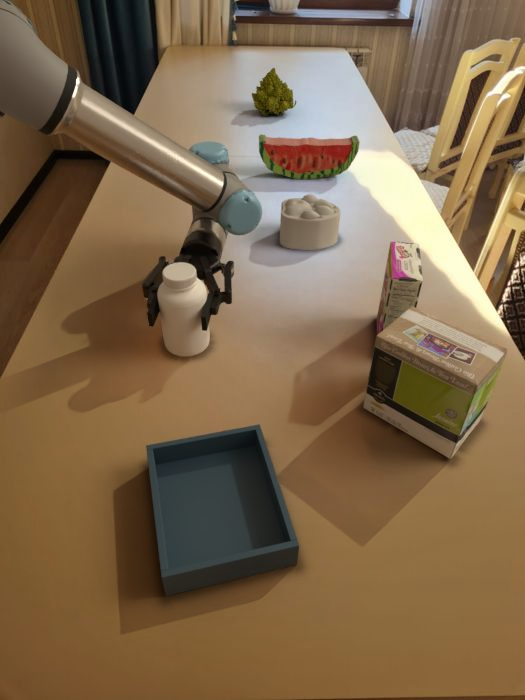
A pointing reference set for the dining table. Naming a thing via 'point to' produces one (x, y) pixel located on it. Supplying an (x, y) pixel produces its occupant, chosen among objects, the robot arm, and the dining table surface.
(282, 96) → the vegetable
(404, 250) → the candy bar box
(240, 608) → the dining table surface
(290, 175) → the fruit slice
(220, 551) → the tray
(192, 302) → the pill bottle
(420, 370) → the tea box
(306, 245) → the lumpy-topped squat cylinder
